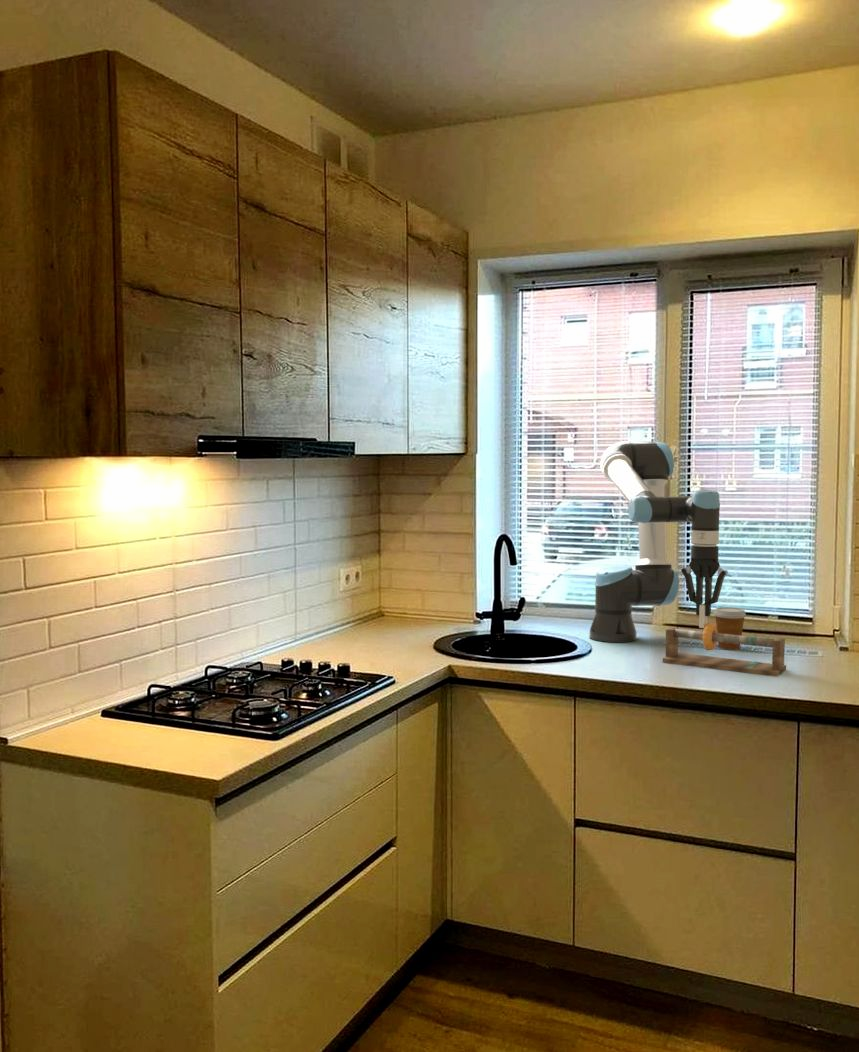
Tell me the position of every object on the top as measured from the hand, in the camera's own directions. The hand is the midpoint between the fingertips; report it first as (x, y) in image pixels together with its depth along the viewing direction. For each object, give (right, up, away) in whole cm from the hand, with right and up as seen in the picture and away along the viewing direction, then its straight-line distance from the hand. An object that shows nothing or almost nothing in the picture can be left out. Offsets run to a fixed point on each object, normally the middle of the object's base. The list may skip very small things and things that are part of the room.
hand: (703, 627), depth 269 cm
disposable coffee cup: (+15, -9, +23) cm, 29 cm away
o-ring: (+2, -7, 0) cm, 7 cm away
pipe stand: (+5, -11, -2) cm, 12 cm away
